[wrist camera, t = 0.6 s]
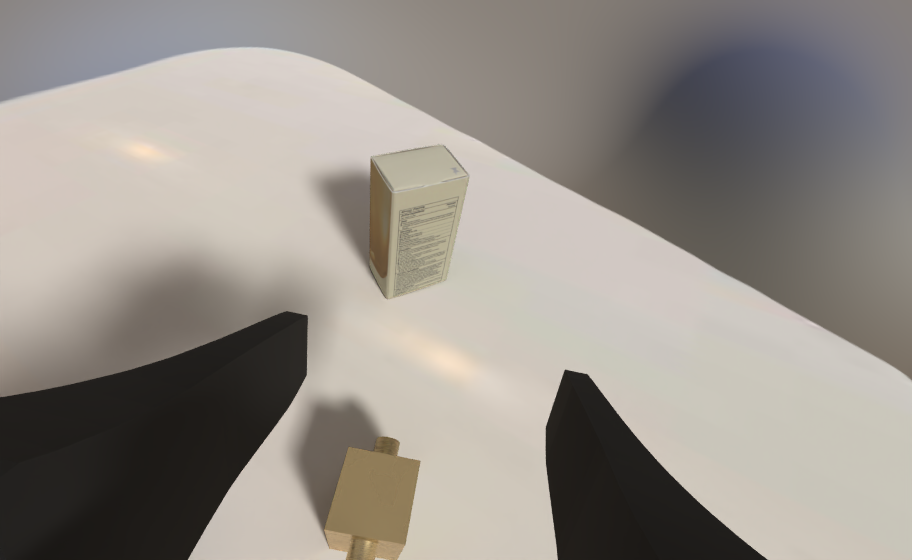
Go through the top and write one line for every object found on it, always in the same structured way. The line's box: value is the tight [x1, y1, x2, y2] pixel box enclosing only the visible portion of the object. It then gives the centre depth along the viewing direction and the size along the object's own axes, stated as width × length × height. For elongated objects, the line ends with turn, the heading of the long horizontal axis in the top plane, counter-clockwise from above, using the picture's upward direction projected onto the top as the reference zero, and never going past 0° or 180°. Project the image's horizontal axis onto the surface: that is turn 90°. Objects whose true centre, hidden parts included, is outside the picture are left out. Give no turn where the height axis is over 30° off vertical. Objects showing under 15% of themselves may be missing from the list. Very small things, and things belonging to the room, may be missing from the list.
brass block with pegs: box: [324, 437, 420, 560], centre depth 24 cm, size 6×4×6 cm, turn 172°
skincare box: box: [369, 144, 470, 299], centre depth 35 cm, size 6×4×12 cm
